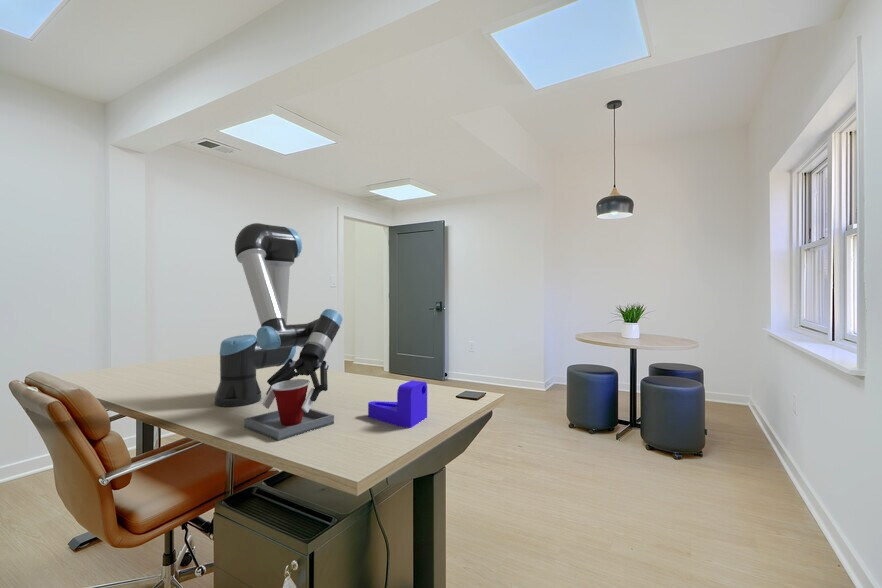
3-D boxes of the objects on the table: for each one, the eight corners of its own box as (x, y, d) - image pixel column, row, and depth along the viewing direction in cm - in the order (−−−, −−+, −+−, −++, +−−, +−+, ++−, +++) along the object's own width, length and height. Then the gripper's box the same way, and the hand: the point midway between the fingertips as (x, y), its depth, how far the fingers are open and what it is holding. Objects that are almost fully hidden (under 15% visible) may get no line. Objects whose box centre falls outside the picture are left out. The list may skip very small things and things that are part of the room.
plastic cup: (265, 422, 121) (265, 382, 121) (300, 415, 129) (300, 377, 128) (279, 431, 113) (279, 388, 113) (316, 423, 121) (316, 382, 120)
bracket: (427, 417, 128) (427, 380, 128) (410, 428, 118) (410, 387, 118) (378, 411, 136) (378, 375, 136) (359, 420, 126) (359, 382, 126)
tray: (244, 427, 119) (244, 418, 119) (299, 412, 133) (299, 405, 133) (278, 440, 108) (278, 431, 108) (334, 423, 122) (334, 415, 122)
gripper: (353, 358, 131) (327, 418, 117) (288, 354, 139) (256, 411, 125) (344, 343, 126) (316, 405, 112) (277, 341, 134) (242, 397, 120)
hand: (284, 408), depth 118 cm, fingers open, 13 cm apart
